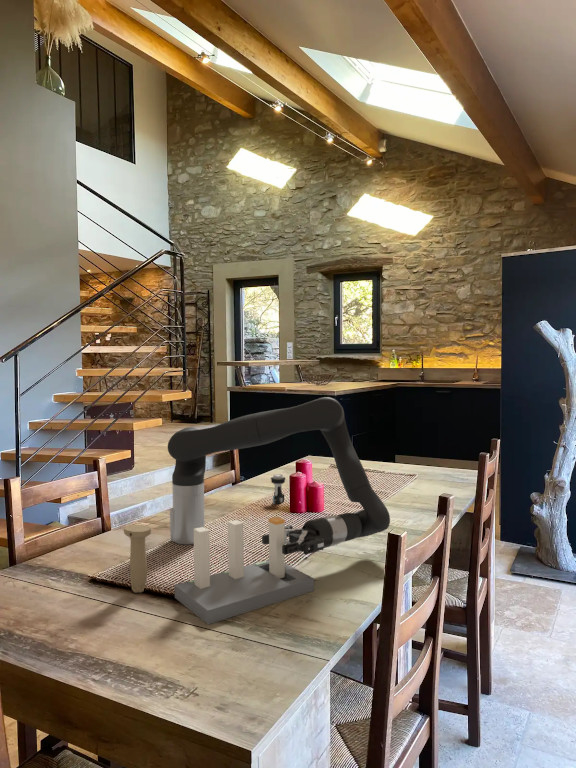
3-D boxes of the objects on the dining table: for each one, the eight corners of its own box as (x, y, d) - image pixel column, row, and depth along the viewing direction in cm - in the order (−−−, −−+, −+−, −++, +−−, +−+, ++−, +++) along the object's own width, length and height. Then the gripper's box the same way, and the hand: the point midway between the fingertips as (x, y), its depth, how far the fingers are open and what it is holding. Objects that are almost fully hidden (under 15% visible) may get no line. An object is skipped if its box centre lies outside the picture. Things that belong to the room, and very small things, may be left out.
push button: (278, 506, 209) (278, 478, 208) (266, 504, 212) (266, 476, 211) (288, 501, 215) (288, 474, 214) (275, 499, 218) (275, 473, 217)
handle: (142, 597, 134) (141, 533, 133) (121, 591, 137) (119, 529, 136) (156, 589, 139) (155, 527, 138) (135, 584, 141) (133, 523, 140)
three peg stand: (208, 624, 121) (207, 549, 120) (174, 597, 134) (173, 529, 133) (313, 590, 137) (313, 523, 136) (275, 569, 150) (274, 508, 149)
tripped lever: (276, 579, 139) (276, 521, 138) (269, 575, 141) (268, 518, 140) (284, 577, 140) (284, 519, 139) (277, 573, 143) (277, 516, 142)
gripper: (307, 511, 155) (256, 522, 145) (343, 524, 143) (290, 537, 134) (307, 539, 155) (256, 551, 146) (343, 554, 144) (290, 569, 134)
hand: (272, 545), depth 140 cm, fingers open, 8 cm apart
